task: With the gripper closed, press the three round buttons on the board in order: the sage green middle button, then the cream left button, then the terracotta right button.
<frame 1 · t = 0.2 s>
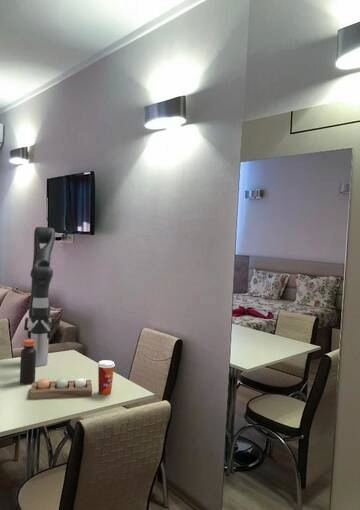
hand: (38, 338, 205), 18 cm above the table, tool pointing down, fingers open, 8 cm apart
cream button: (80, 384, 185), point 4 cm above the table, slide at 0.0 cm
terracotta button: (43, 385, 181), point 4 cm above the table, slide at 0.0 cm
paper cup: (104, 392, 186), on the table
button board: (61, 392, 183), on the table
sage button: (62, 384, 183), point 4 cm above the table, slide at 0.0 cm
bottle: (27, 382, 192), on the table
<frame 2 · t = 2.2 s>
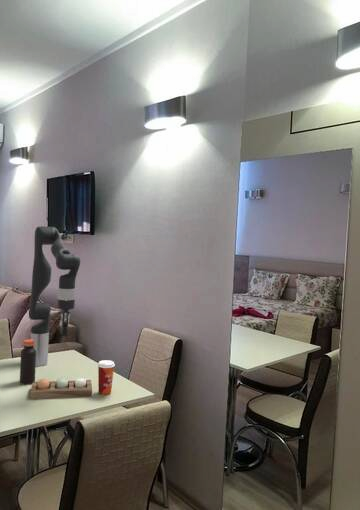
hand: (64, 335, 185), 25 cm above the table, tool pointing down, fingers closed
nothing on the table moved.
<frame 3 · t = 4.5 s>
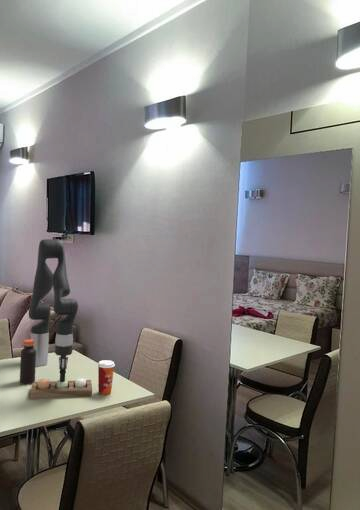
hand: (62, 381, 183), 5 cm above the table, tool pointing down, fingers closed
sage button: (62, 385, 183), point 3 cm above the table, slide at 0.4 cm, touching gripper
everything else where it was.
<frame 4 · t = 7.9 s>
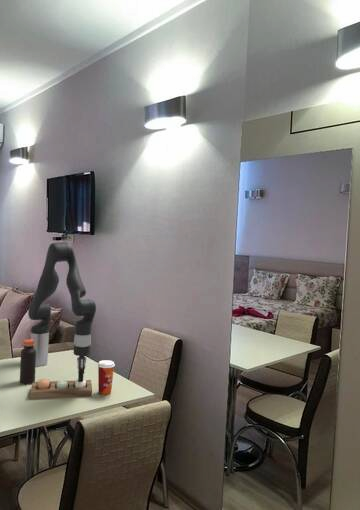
hand: (80, 381, 185), 5 cm above the table, tool pointing down, fingers closed
cream button: (80, 385, 185), point 3 cm above the table, slide at 0.7 cm, touching gripper
sage button: (62, 387, 183), point 2 cm above the table, slide at 1.2 cm
everything else where it was.
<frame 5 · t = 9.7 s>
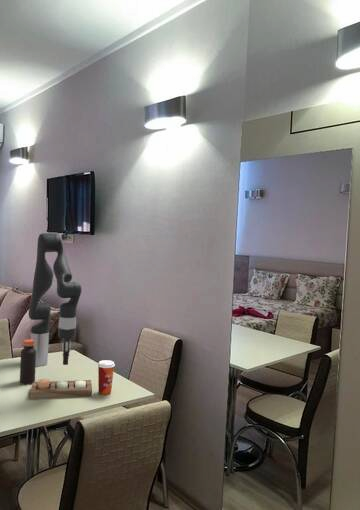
hand: (65, 364, 183), 13 cm above the table, tool pointing down, fingers closed
cream button: (80, 386, 185), point 2 cm above the table, slide at 1.2 cm
everything else where it was.
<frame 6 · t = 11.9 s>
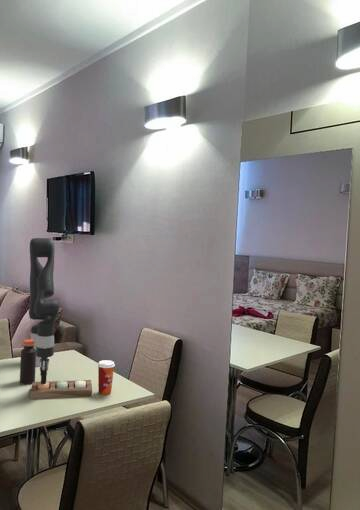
hand: (43, 383, 181), 4 cm above the table, tool pointing down, fingers closed
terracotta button: (43, 387, 181), point 2 cm above the table, slide at 1.1 cm, touching gripper
everything else where it was.
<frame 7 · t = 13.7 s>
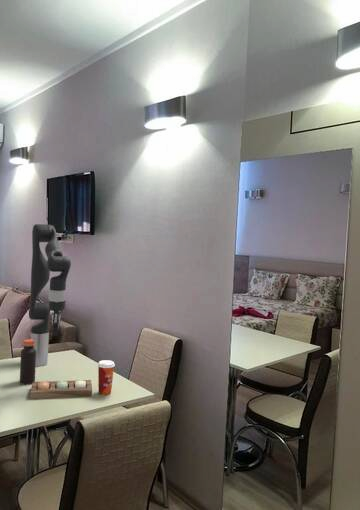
hand: (55, 335, 189), 23 cm above the table, tool pointing down, fingers closed
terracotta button: (43, 388, 181), point 2 cm above the table, slide at 1.2 cm
everything else where it was.
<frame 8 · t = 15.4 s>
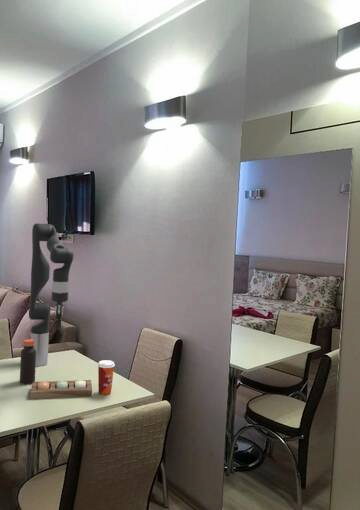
hand: (58, 327, 191), 27 cm above the table, tool pointing down, fingers closed
nothing on the table moved.
at the end: sage button slide at 1.2 cm; cream button slide at 1.2 cm; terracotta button slide at 1.2 cm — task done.
